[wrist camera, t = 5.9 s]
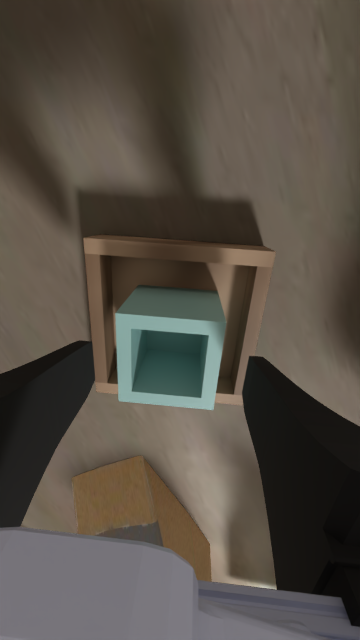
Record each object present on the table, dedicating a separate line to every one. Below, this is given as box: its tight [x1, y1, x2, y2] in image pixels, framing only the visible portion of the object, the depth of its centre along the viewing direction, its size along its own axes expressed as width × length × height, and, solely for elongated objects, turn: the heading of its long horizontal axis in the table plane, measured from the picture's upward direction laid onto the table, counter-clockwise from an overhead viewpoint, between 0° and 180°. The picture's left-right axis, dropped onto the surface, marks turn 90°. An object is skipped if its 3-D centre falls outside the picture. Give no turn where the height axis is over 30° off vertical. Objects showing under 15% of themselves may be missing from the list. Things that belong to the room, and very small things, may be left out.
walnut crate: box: [83, 234, 276, 405], centre depth 16 cm, size 10×10×2 cm
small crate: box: [115, 285, 226, 410], centre depth 15 cm, size 5×5×5 cm
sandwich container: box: [72, 456, 212, 582], centre depth 19 cm, size 9×15×15 cm, turn 27°
